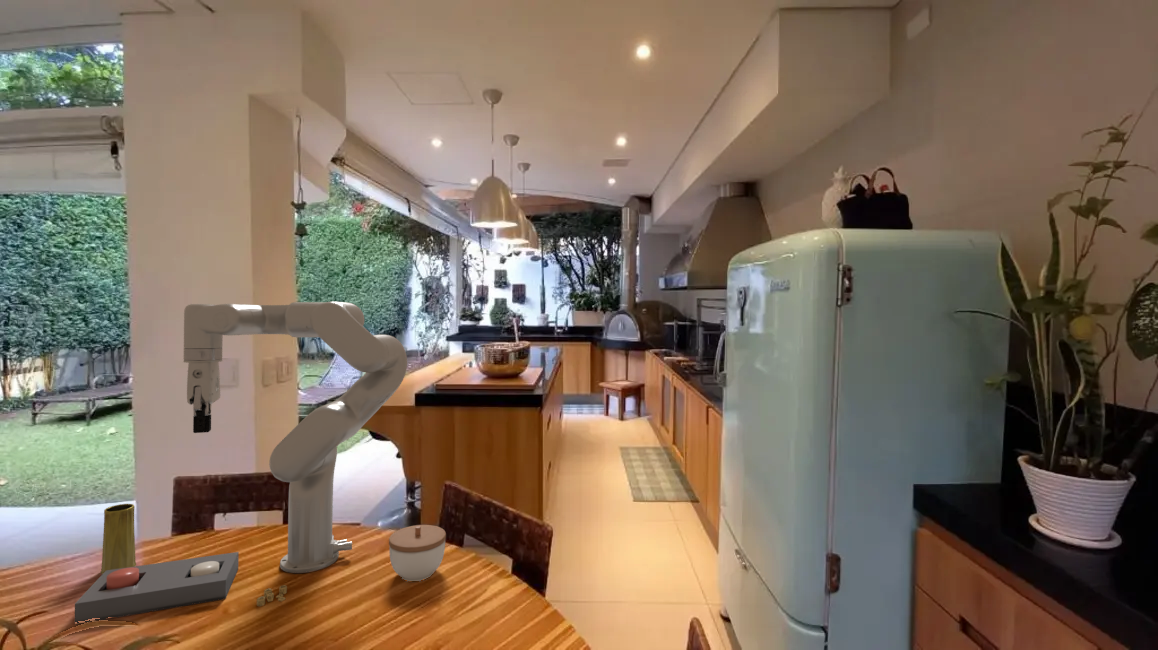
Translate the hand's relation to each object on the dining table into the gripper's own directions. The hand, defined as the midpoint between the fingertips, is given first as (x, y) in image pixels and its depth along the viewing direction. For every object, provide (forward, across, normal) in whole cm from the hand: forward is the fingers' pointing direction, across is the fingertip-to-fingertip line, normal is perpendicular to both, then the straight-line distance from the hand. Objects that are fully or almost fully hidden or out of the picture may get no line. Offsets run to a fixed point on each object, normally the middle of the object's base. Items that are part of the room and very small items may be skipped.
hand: (202, 431), depth 124 cm
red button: (+29, -15, +10) cm, 34 cm away
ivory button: (+30, -15, -4) cm, 34 cm away
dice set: (+32, -25, -18) cm, 44 cm away
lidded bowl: (+31, -26, -47) cm, 62 cm away
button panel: (+31, -15, +3) cm, 35 cm away
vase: (+31, +2, +16) cm, 35 cm away
